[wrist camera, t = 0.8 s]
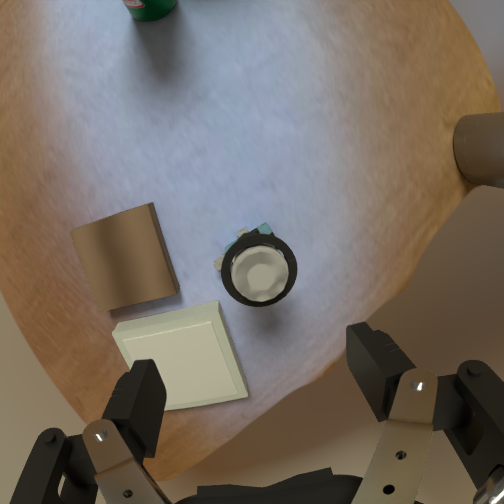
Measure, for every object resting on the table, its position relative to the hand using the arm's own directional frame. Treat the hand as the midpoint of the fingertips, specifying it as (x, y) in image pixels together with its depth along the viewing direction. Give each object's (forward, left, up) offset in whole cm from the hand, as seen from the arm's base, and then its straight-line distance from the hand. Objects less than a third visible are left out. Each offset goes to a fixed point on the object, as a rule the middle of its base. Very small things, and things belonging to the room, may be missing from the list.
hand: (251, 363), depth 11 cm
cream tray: (+9, +11, -19) cm, 24 cm away
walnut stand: (+11, -2, -19) cm, 22 cm away
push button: (-1, 0, -19) cm, 19 cm away
